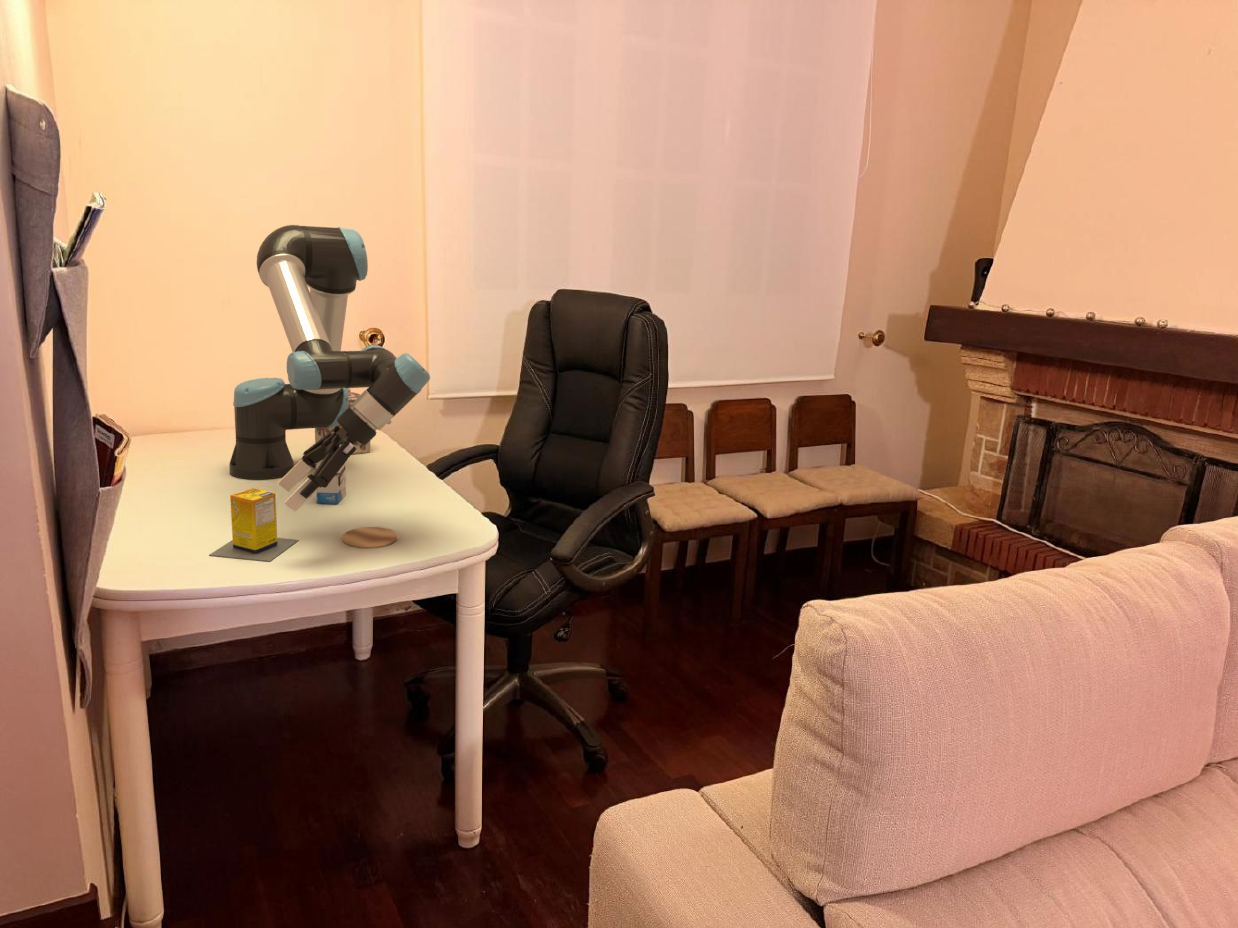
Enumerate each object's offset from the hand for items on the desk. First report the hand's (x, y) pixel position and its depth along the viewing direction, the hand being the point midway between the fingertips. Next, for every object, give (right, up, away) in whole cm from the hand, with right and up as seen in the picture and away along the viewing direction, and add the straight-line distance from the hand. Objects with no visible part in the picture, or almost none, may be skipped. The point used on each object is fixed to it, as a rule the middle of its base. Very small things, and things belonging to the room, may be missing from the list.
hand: (285, 497), depth 168 cm
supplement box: (-6, -10, +1) cm, 12 cm away
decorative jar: (-13, +10, +76) cm, 78 cm away
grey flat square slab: (-6, -10, +1) cm, 12 cm away
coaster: (+13, -9, +10) cm, 19 cm away
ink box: (-2, -2, +34) cm, 34 cm away
